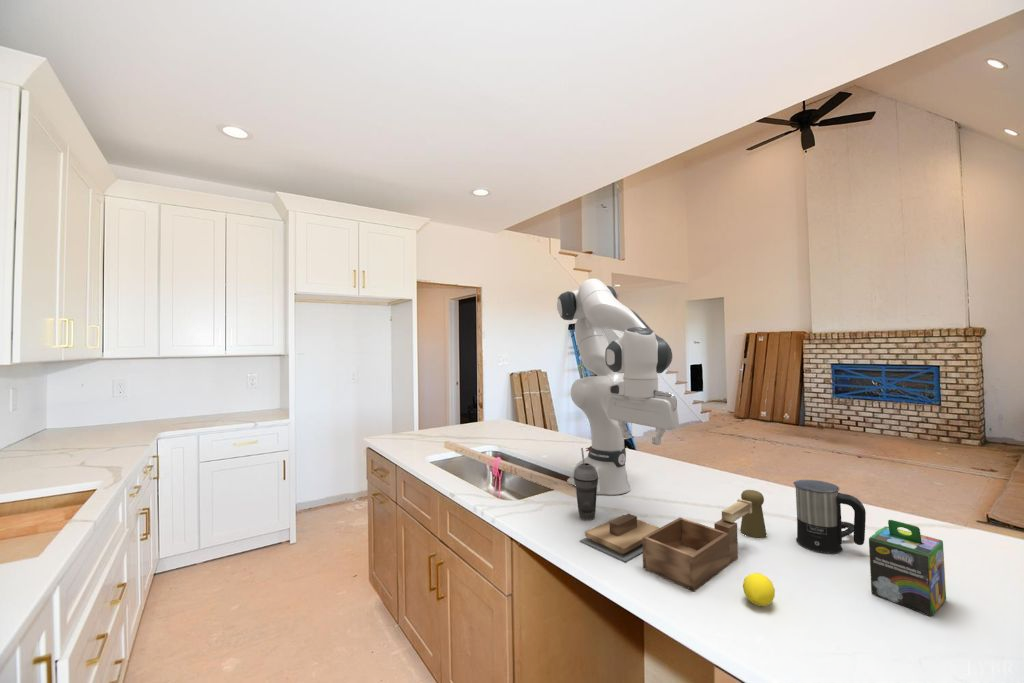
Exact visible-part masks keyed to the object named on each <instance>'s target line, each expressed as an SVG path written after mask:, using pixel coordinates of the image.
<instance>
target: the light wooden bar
mask: <svg viewBox="0 0 1024 683" xmlns="http://www.w3.org/2000/svg"><path fill="white" fill-rule="evenodd" d="M747 513H750V514H751V513H752V502H750V501H746V500H742V498H738V499H737V500H736V502H735V503H733V504H732V505H730V506H728V507H726V508H725V509H722V510H721V519H722V520H725V521H728V522H732V523H733V522H736V521H737V520H739V519H742V516H744V515H745V514H747Z"/></svg>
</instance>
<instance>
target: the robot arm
mask: <svg viewBox="0 0 1024 683" xmlns="http://www.w3.org/2000/svg"><path fill="white" fill-rule="evenodd" d="M556 309H557V311H558V312H557V313H558V314H559V316H560V318H561V319H563V321H564V320H565V321H573V320H576V321H575V324H574V333H575V334H574V335H575V341H576V345H577V349H578V353H579V356H580V361H581V363H582V366H584V368H585V369H586V370H588V371H589V372H592V373H594V374H595V375H596V376H595V375H593V376H585V377H582V378H577V379H575V381H574V382H573V384H572V386H571V387H570V398H571V400H572V402H573V404H574V405H575V406H577V407H578V408H579V409H580V410H581V411H582V412H583V413H584V414H585V416H586V418H587V419H588V423H589V426H590V427H589V428H590V435H591V437H590V438H591V445H590V446H589V447H586V448H585V449H586V450H585V452H588V454H587V456H585V457H584V462H585V463H588V464H591V465H592V466H593V467H594V468H595V469H596V471H597V473H598V478H599V479H598V485H597V494H596V496H598V495H610V496H611V495H612V496H614V495H623V494H626V493H628V492H629V491H630V490H631V487H630V483H629V479H628V474H627V468H626V460H627V453H626V452H627V450H626V447H625V439H628V438H630V437H631V430H629V429H628V427H627V424H628V423H631V424H636V425H640V426H645V427H651V428H655V432H656V434H655V436H652V437H651V440H652V441H651V443H652V445H655V446H660V445H662V437H663V436H664V434H665V432H666V430H667V431H672V430H675V429H677V428H678V426H679V425H680V423H679V413H678V400H677V397H676V396H675V395H674V394H673V393H672V392H670V391H662V390H661V391H660V390H659V377H658V374H662V373H664V371H666V370H667V369H668V368H669V367H670V365H671V363H672V361H673V351H672V348H671V346H670V345H669V344H668V342H667V341H666V340H665V339H664V338H663V337H661V336H660V335H658V334H656V333H655V331H654V330H653V329H652V328H651V327H650V326H649V325H648V324H647V323H646V322H645V321H644V319H643V318H641V317H640V315H639V314H638V313H636V311H634V310H632V309H630V308H628V306H626V305H624V304H623V303H621V302H620V301H619V300H618V294H617V291H616V290H615V288H613V287H612V286H610V285H606V284H605V283H604V282H603V281H602V280H600V279H599V278H589V279H586V280H584V281H583V282H582V283H581V284H580V285H579V288H578V289H574V290H572V291H569V290H568V291H564V292H562V293H561V294H559V295H558V297H557V302H556ZM604 329H605V330H613V331H618V332H622V333H623V335H622V336H621V337H620V338H617V339H616V340H612V341H611V342H610V343H609V340H608V337H607V335H606V333H605V330H604ZM580 464H583V460H581V461H579V462H578V463H577V464H576V465H575V466H574V469H573V473H574V472H575V469H576V468H577V467H578V466H579V465H580ZM573 477H574V475H572V476H569V478H567V480H566V483H567V484H569V485H571V484H572V485H571V486H573V485H575V482H574V478H573Z"/></svg>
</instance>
